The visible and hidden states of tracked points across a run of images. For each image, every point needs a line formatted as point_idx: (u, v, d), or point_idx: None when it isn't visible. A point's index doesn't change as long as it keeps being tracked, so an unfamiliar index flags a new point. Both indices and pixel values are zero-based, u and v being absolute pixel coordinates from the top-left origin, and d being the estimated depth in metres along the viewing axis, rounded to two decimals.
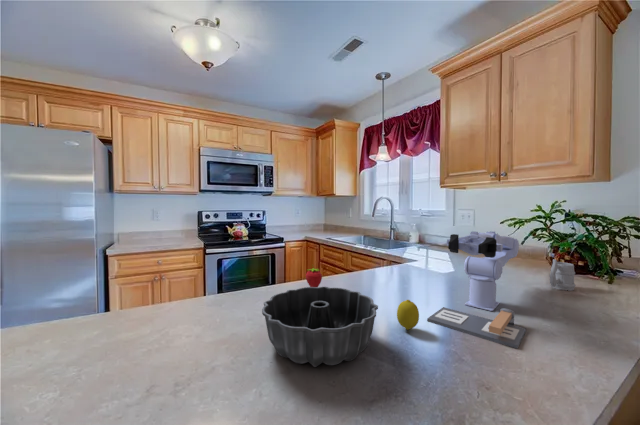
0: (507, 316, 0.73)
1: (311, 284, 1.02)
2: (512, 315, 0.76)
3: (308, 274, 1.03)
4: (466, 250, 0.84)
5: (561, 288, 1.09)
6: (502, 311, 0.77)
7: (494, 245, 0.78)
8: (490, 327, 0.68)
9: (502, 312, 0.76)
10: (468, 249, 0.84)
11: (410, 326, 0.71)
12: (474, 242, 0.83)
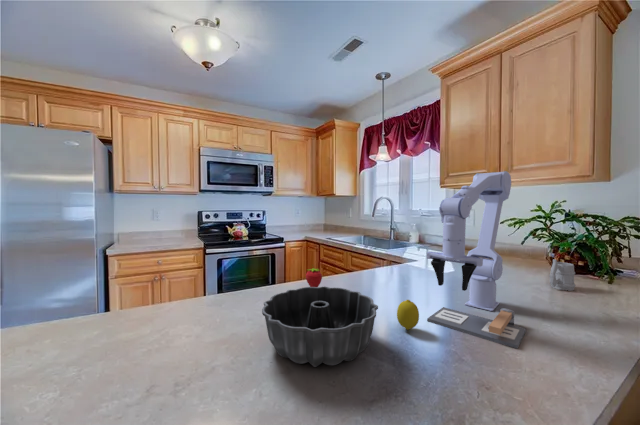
0: (507, 316, 0.73)
1: (311, 284, 1.02)
2: (512, 315, 0.76)
3: (308, 274, 1.03)
4: None
5: (561, 288, 1.09)
6: (502, 311, 0.77)
7: (472, 268, 0.75)
8: (490, 327, 0.68)
9: (502, 312, 0.76)
10: None
11: (410, 326, 0.71)
12: None
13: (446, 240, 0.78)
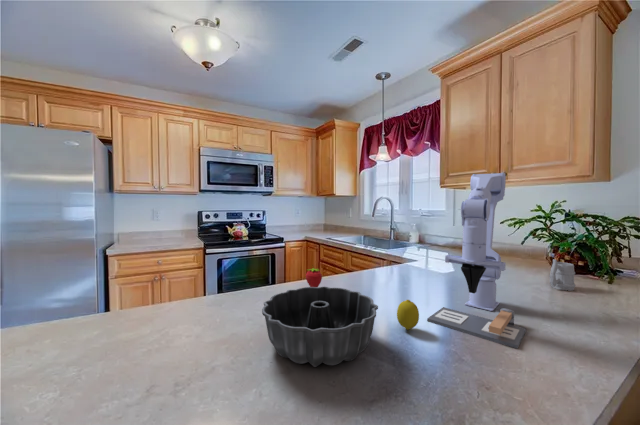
0: (507, 316, 0.73)
1: (311, 284, 1.02)
2: (512, 315, 0.76)
3: (308, 274, 1.03)
4: None
5: (561, 288, 1.09)
6: (502, 311, 0.77)
7: (482, 270, 0.75)
8: (490, 327, 0.68)
9: (502, 312, 0.76)
10: None
11: (410, 326, 0.71)
12: None
13: (466, 243, 0.75)
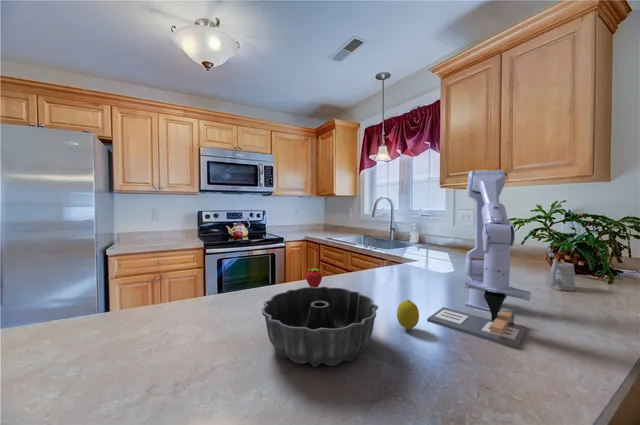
0: (507, 316, 0.73)
1: (311, 284, 1.02)
2: (512, 315, 0.76)
3: (308, 274, 1.03)
4: None
5: (561, 288, 1.09)
6: (502, 311, 0.77)
7: None
8: (491, 327, 0.67)
9: (502, 312, 0.76)
10: None
11: (410, 326, 0.71)
12: None
13: (489, 270, 0.72)
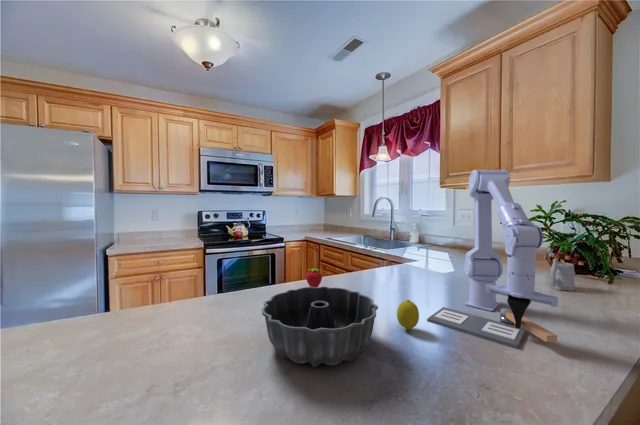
0: (523, 317, 0.73)
1: (311, 284, 1.02)
2: None
3: (308, 274, 1.03)
4: None
5: (561, 288, 1.09)
6: (509, 313, 0.76)
7: None
8: (547, 337, 0.63)
9: (511, 314, 0.75)
10: None
11: (410, 326, 0.71)
12: None
13: (513, 274, 0.68)
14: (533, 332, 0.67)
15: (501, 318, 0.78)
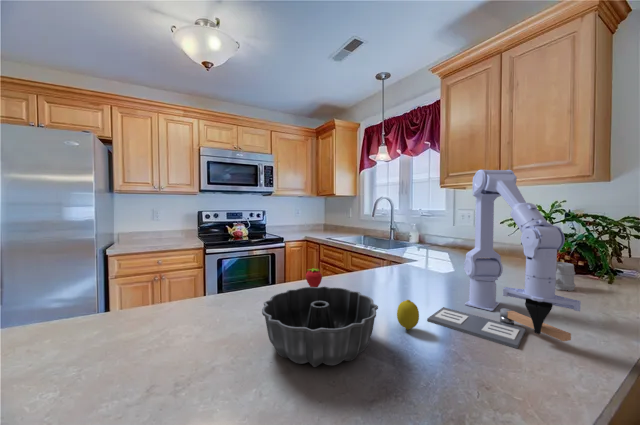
0: (527, 317, 0.73)
1: (311, 284, 1.02)
2: None
3: (308, 274, 1.03)
4: None
5: (561, 288, 1.09)
6: (511, 313, 0.75)
7: None
8: (564, 336, 0.63)
9: (514, 314, 0.75)
10: None
11: (410, 326, 0.71)
12: None
13: (532, 277, 0.66)
14: (545, 332, 0.67)
15: (501, 318, 0.78)
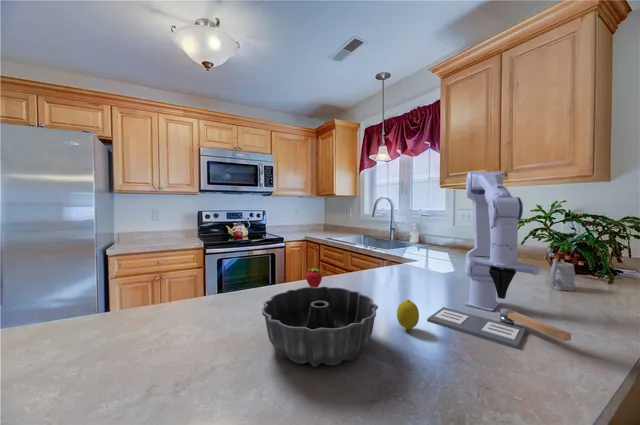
0: (527, 317, 0.73)
1: (311, 284, 1.02)
2: None
3: (308, 274, 1.03)
4: None
5: (561, 288, 1.09)
6: (511, 313, 0.75)
7: None
8: (564, 336, 0.63)
9: (514, 314, 0.75)
10: None
11: (410, 326, 0.71)
12: None
13: (496, 245, 0.70)
14: (546, 332, 0.67)
15: (501, 318, 0.78)
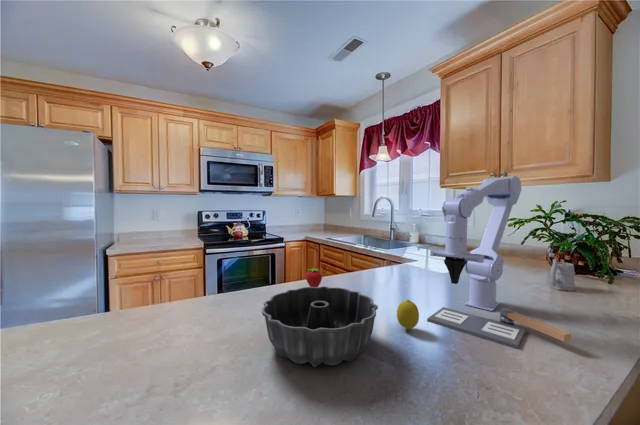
0: (527, 317, 0.73)
1: (311, 284, 1.02)
2: None
3: (308, 274, 1.03)
4: None
5: (561, 288, 1.09)
6: (511, 313, 0.75)
7: (463, 263, 0.82)
8: (564, 336, 0.63)
9: (514, 314, 0.75)
10: None
11: (410, 326, 0.71)
12: None
13: (449, 238, 0.82)
14: (546, 332, 0.67)
15: (501, 318, 0.78)
